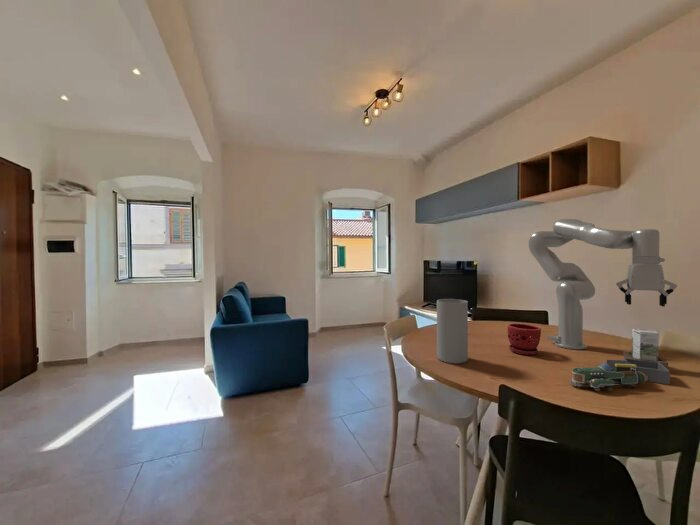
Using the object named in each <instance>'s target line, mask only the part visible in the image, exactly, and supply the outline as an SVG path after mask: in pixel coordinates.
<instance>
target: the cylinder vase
mask: <svg viewBox="0 0 700 525" xmlns="http://www.w3.org/2000/svg"><path fill="white" fill-rule="evenodd" d="M468 303H469V301H468V300H465V299H456V298H442V299H441V298H440V299H437V300H436V357H437V359H438V360H439V361H441V362H443V361H444V363H446V362H447V364H452V363H453V364H454V365H455V364H457V365H459V364H464V363H466V362H468V359H469V343H468V342H469V339H468V338H469V329H468V328H469V322H468V321H469V318H468V316H469V312H468V311H469V310H468V309H469V308H468ZM453 364H452V365H453Z"/></svg>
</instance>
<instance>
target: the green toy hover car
mask: <svg viewBox="0 0 700 525" xmlns="http://www.w3.org/2000/svg"><path fill="white" fill-rule="evenodd" d="M632 366H634V365H632ZM632 366H631V369H633V368H632ZM634 367H635V366H634ZM634 370H635V371H618V372H615V371H614V370H613V369H612V368H610V366H609V365H608V364H607V361H605V362H604V361H603V363H601V364H600V365H598V366H592V367H591V366H589V367H580V366H578V367H575V368H573V369H572V370H571V379H570V380H569V383H570V385H572V387H573V388H576V389H577V387H578V389H581V387H582V386H583V385H584V389H589V388H593V389H594V391H595V392H600V391H601V388H604V387H605V388H606V390H607V391H610V392H611V391H613V387H619V386H622V387H623V388H625V389H627V388H631V389H634V388H638V387H639V386H638V384H639V383H640V384H644V383H645V382H648V381H647V379H648V377H647V375H646V374H644V373H642V372H640V371H636V368H635V369H634ZM588 382H589V385H588V386H587V387H586V384H588Z"/></svg>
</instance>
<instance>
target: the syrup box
mask: <svg viewBox="0 0 700 525" xmlns="http://www.w3.org/2000/svg"><path fill="white" fill-rule="evenodd" d="M631 330H632V331H631V332H632V333H631V352H632V357H633V358H638V359H646V360H654V361H658V355H659V339H660V336H659V335H660V333H659V332H657V331H655V330H653V329H650V328H649V329H648V328H632V329H631Z"/></svg>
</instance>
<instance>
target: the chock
mask: <svg viewBox="0 0 700 525" xmlns="http://www.w3.org/2000/svg"><path fill="white" fill-rule="evenodd" d="M606 363H607V364H608V365H609V366H610V368H612V369H613V370H614V371H615V372H618V371H635V370H634V369H635V368H637V365H635V364H632V363H630V362H628V361H625V360H622V359H621V360H619V359H606ZM632 365H634V366H635V367H634V366H632ZM631 366H632V368H633V369H631Z"/></svg>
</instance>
